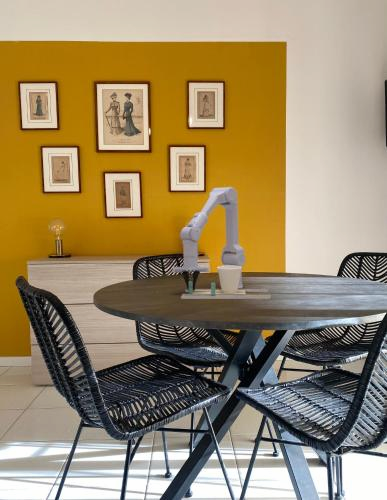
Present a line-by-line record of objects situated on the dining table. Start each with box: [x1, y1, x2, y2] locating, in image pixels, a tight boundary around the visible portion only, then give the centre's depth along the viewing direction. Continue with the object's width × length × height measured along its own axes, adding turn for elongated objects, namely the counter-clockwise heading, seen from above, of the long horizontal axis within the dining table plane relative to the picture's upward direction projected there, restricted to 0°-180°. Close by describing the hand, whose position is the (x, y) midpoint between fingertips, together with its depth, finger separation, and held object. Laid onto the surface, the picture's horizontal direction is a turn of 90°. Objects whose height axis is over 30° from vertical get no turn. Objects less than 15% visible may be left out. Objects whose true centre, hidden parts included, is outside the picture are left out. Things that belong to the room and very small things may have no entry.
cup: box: [216, 265, 243, 293], centre depth 202 cm, size 10×10×11 cm
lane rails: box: [180, 282, 272, 300], centre depth 200 cm, size 17×34×6 cm, turn 85°
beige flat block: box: [188, 279, 247, 294], centre depth 202 cm, size 11×23×6 cm, turn 85°
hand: (191, 289), depth 203 cm, fingers closed on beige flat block, 2 cm apart
